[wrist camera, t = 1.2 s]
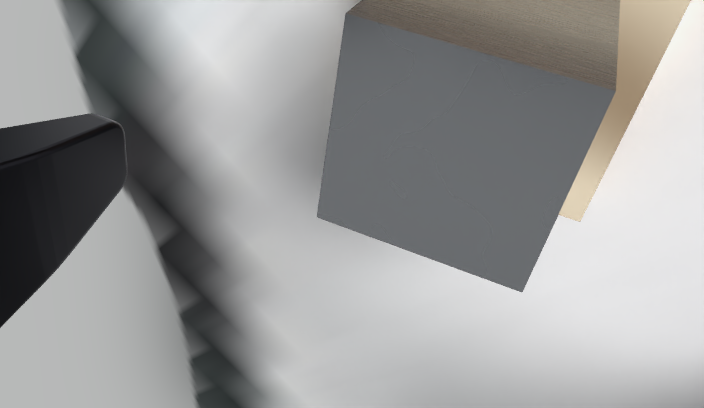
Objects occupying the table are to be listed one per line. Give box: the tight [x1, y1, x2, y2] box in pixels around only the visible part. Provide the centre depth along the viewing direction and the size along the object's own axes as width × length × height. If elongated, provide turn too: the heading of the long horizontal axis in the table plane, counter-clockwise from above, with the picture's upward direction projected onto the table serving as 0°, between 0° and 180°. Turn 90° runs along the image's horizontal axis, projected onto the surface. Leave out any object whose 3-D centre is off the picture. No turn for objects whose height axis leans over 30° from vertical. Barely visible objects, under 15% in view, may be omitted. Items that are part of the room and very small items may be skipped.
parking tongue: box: [558, 0, 691, 222], centre depth 15 cm, size 7×7×2 cm
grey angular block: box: [317, 0, 620, 292], centre depth 13 cm, size 4×4×5 cm
